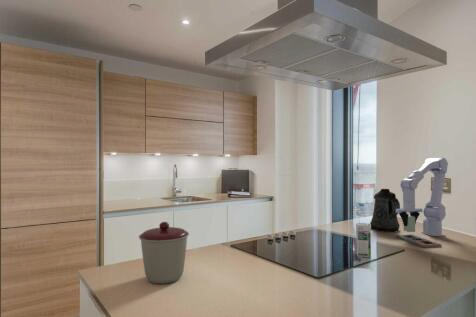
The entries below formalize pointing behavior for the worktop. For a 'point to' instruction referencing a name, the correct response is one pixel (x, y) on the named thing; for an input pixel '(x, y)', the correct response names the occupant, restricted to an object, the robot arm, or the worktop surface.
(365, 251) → the syrup box
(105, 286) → the worktop surface
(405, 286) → the worktop surface
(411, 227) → the peg
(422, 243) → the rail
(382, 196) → the beer stein
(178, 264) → the canister
